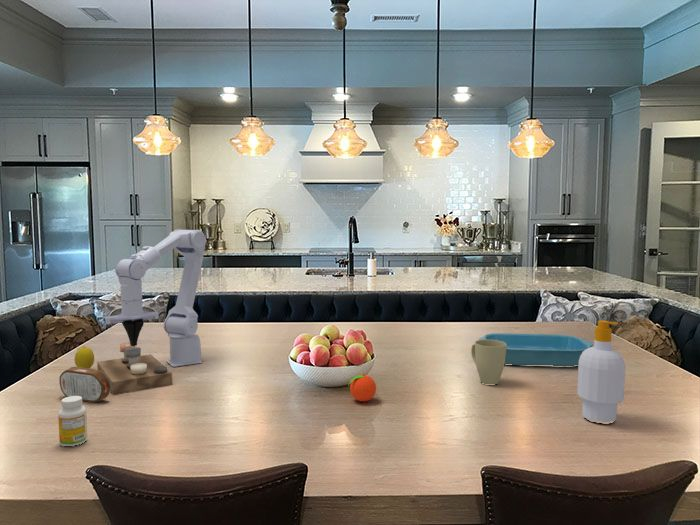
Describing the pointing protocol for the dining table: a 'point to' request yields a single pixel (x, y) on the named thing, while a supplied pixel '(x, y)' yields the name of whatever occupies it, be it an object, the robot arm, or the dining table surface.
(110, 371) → the board
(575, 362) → the casserole dish
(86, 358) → the lemon
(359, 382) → the clementine
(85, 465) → the dining table surface
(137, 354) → the knob slate
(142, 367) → the knob cream
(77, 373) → the tin
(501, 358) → the mug
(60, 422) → the supplement bottle
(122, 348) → the peach pink ball
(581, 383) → the soap bottle
